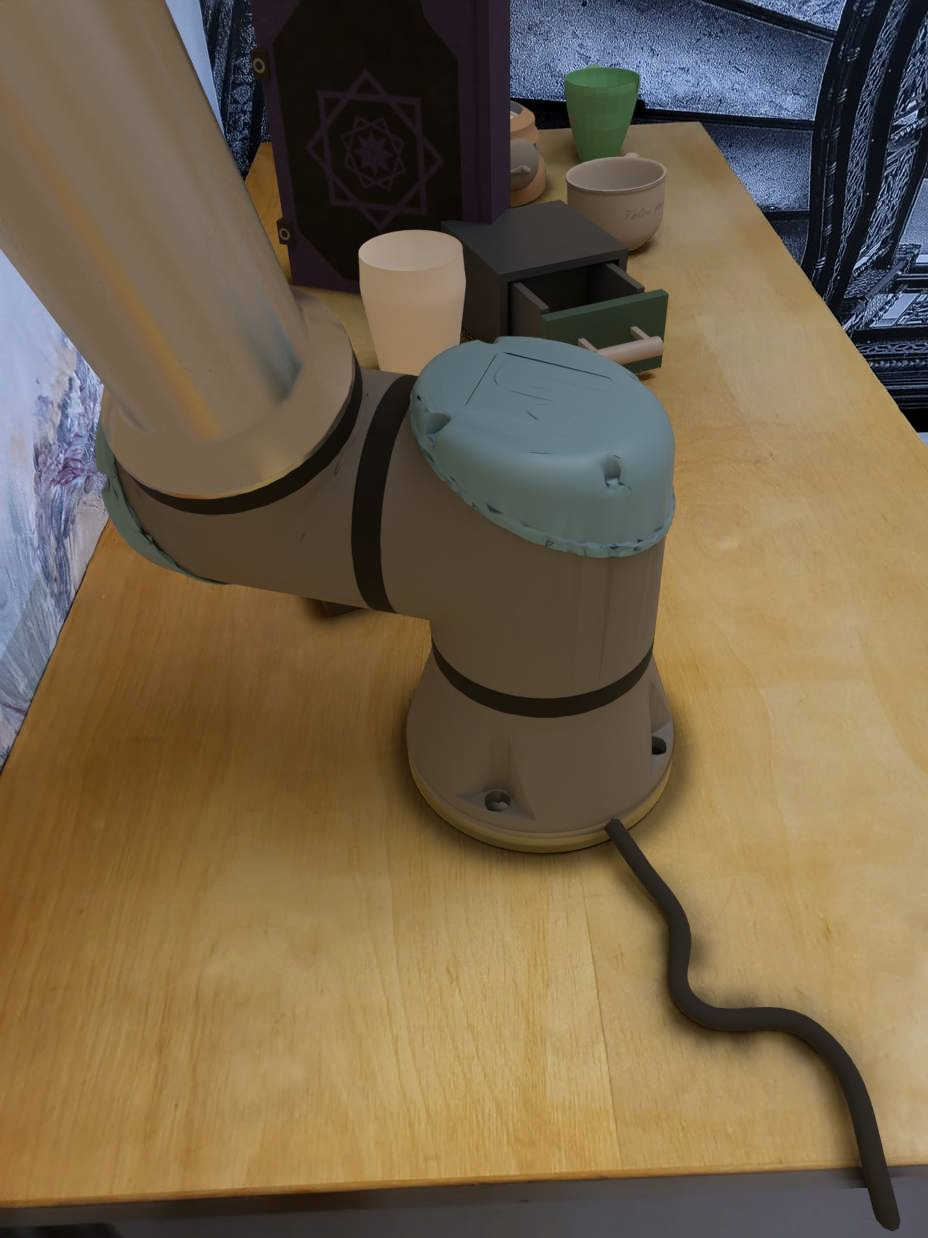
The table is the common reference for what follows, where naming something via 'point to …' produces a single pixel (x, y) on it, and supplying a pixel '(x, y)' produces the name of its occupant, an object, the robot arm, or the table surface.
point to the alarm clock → (525, 157)
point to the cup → (412, 296)
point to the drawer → (592, 313)
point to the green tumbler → (600, 108)
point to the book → (381, 122)
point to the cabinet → (523, 257)
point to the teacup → (620, 196)
